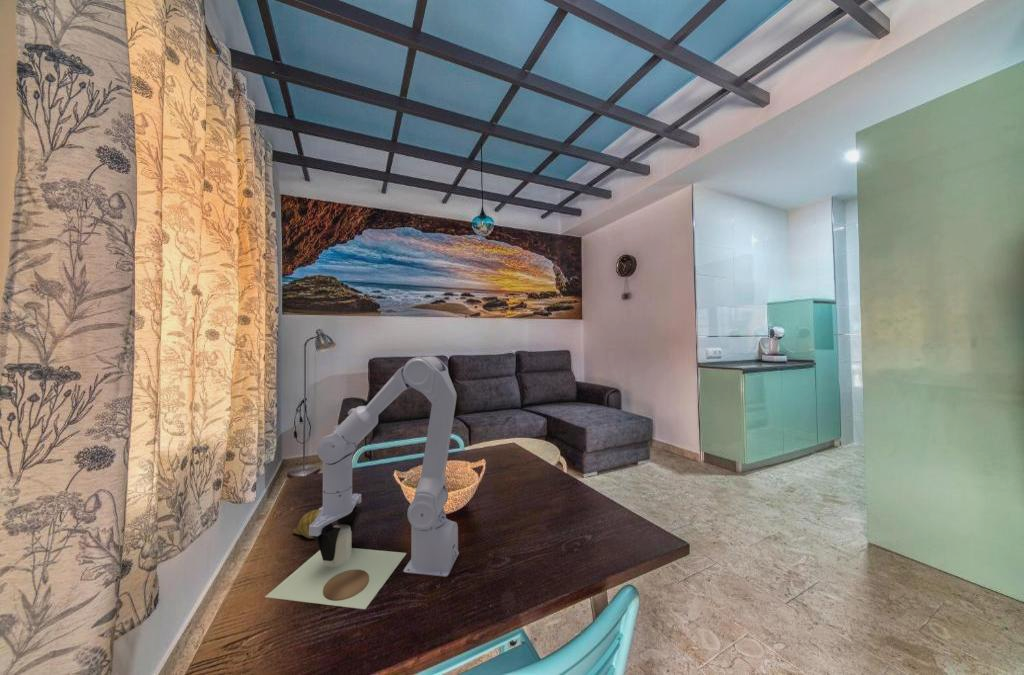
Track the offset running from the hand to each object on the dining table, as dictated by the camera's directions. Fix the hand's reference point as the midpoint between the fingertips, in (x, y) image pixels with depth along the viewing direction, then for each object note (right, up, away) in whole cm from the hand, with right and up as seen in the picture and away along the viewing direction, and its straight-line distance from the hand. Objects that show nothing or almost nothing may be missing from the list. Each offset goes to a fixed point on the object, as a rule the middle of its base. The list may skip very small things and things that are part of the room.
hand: (337, 551), depth 73 cm
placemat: (+3, -2, -5) cm, 6 cm away
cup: (0, -2, 0) cm, 2 cm away
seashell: (-11, -3, +10) cm, 16 cm away
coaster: (+6, -1, -8) cm, 10 cm away
